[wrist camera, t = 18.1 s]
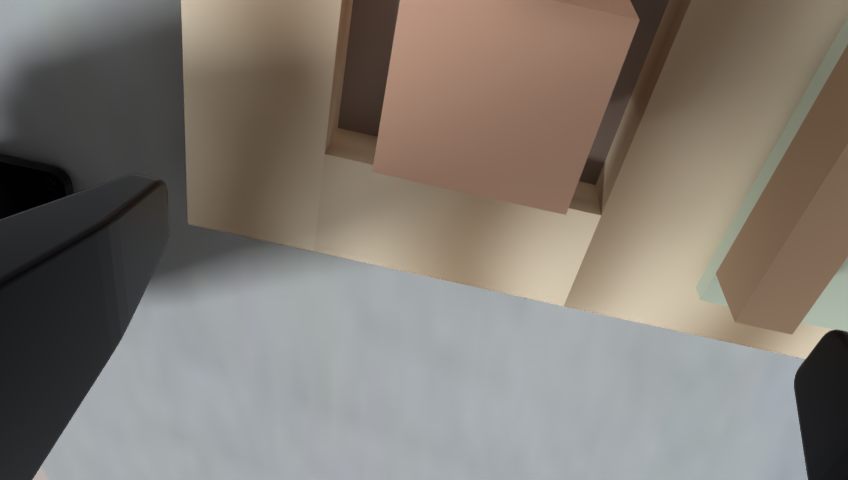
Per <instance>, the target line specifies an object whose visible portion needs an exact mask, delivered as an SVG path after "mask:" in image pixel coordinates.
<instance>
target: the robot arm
mask: <svg viewBox="0 0 848 480" xmlns="http://www.w3.org/2000/svg"><path fill="white" fill-rule="evenodd" d="M50 179H52V180H53V181H55V182H56V184H57V185H56V184H54V183H53V182H52V181H51V180H50ZM168 238H169V214H168V194H167V187H166V184H165V183H164V182H163V181H162V180H161V179H158V178H153V177H149V176H144V175H140V174H129V175H126V176H123V177H120V178H118V179H115V180H112V181H109V182H106V183H103V184H100V185H98V186H95V187H92V188H89V189H86V190H83V191H80V192H78V193H75V194H73V189H72V182H71V179H70V177H69V176H68V174H67V173H66V172H65V171H63V170H62V169H61V168H58V167H55V166H51V165H47V164H42V163H37V162H33V161H28V160H24V159H19V158H15V157H10V156H6V155H1V154H0V480H32V479H33V478H34V476H35V475H36V473H37V471H38V470H39V468H40V467H41V465H42V464H43V462H44V460H45V459H46V457H47V456H48V454H49V453H50V451H51V449H52V448H53V446H54V445H55V443H56V442H57V440H58V439H59V437H60V435H61V434H62V432H63V431H64V429H65V428H66V426H67V424H68V423H69V421H70V420H71V418H72V417H73V415H74V413H75V412H76V410H77V409H78V407H79V406H80V404H81V402H82V401H83V399H84V398H85V396H86V395H87V393H88V392H89V390H90V388H91V387H92V385H93V384H94V382H95V381H96V379H97V377H98V376H99V374H100V373H101V371H102V370H103V368H104V366H105V365H106V363H107V362H108V360H109V359H110V357H111V355H112V354H113V352H114V351H115V349H116V347H117V346H118V344H119V342H120V341H121V339H122V337H123V335H124V333H125V331H126V329H127V327H128V325H129V323H130V321H131V319H132V317H133V315H134V313H135V311H136V309H137V307H138V304H139V302H140V300H141V298H142V296H143V294H144V292H145V290H146V288H147V286H148V284H149V281H150V279H151V277H152V275H153V273H154V271H155V269H156V267H157V265H158V263H159V261H160V258H161V256H162V254H163V252H164V250H165V248H166V245H167V242H168ZM794 390H795V397H796V403H797V410H798V417H799V423H800V430H801V437H802V443H803V450H804V457H805V463H806V470H807V476H808V480H848V332H847V331H842V330H837V329H836V330H831V331H829V332H827V333H826V334H825V335H824V336H823V337H822V338H821V339H820V341H819V342H818V343H817V345H816V346H815V347H814V349H813V350H812V351H811V353H810V354H809V355H808V357H807V358H806V359H805V361H804V362H803V363H802V365H801V366H800V367H799V369H798V371H797V373H796V375H795V380H794Z"/></svg>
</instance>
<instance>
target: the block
mask: <svg viewBox="0 0 848 480" xmlns="http://www.w3.org/2000/svg"><path fill="white" fill-rule="evenodd" d="M639 21H640V20H639V17H638V15H637V13H636V11H635V9H634V7H633V5H632V3H631V1H630V0H400V3H399V9H398V15H397V22H396V28H395V34H394V40H393V46H392V52H391V59H390V65H389V71H388V77H387V83H386V89H385V95H384V102H383V108H382V114H381V120H380V126H379V132H378V139H377V145H376V151H375V157H374V163H373V169H372V172H374V173H379V174H383V175H388V176H392V177H397V178H401V179H406V180H410V181H415V182H419V183H424V184H428V185H433V186H437V187H442V188H446V189H451V190H455V191H460V192H464V193H469V194H473V195H478V196H482V197H487V198H492V199H496V200H501V201H505V202H510V203H514V204H519V205H523V206H528V207H532V208H537V209H541V210H546V211H550V212H555V213H559V214H564V215H566V213H567V211H568V208H569V205H570V203H571V200H572V198H573V195H574V192H575V190H576V187H577V184H578V182H579V179H580V176H581V174H582V171H583V168H584V166H585V163H586V161H587V158H588V155H589V153H590V150H591V147H592V145H593V142H594V139H595V137H596V134H597V132H598V129H599V126H600V124H601V121H602V118H603V116H604V113H605V110H606V108H607V105H608V103H609V100H610V97H611V95H612V92H613V89H614V87H615V84H616V81H617V79H618V76H619V74H620V71H621V68H622V66H623V63H624V60H625V58H626V55H627V52H628V50H629V47H630V44H631V42H632V39H633V37H634V34H635V31H636V29H637V26H638V23H639Z"/></svg>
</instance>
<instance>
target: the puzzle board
mask: <svg viewBox="0 0 848 480" xmlns="http://www.w3.org/2000/svg"><path fill="white" fill-rule="evenodd" d="M630 1H631V3H632V5H633V7H634V9H635V11H636V13H637V15H638V17H639V20H640V21H639V23H638V26H637V29H636V31H635V34H634V37H633V39H632V42H631V44H630V47H629V50H628V52H627V55H626V58H625V60H624V63H623V66H622V68H621V71H620V74H619V76H618V79H617V81H616V84H615V87H614V89H613V92H612V95H611V97H610V100H609V103H608V105H607V108H606V110H605V113H604V116H603V118H602V121H601V124H600V126H599V129H598V132H597V134H596V137H595V139H594V142H593V145H592V147H591V150H590V153H589V155H588V158H587V161H586V163H585V166H584V168H583V171H582V174H581V176H580V179H579V182H578V184H577V187H576V190H575V192H574V195H573V198H572V200H571V203H570V205H569V208H568V211H567V213H566V215H564V214H559V213H555V212H550V211H546V210H541V209H537V208H532V207H528V206H523V205H519V204H514V203H510V202H505V201H501V200H496V199H492V198H487V197H482V196H478V195H473V194H469V193H464V192H460V191H455V190H451V189H446V188H442V187H437V186H433V185H428V184H424V183H419V182H415V181H410V180H406V179H401V178H397V177H392V176H388V175H383V174H379V173H374V172H372V169H373V163H374V157H375V151H376V145H377V139H378V132H379V126H380V120H381V114H382V108H383V102H384V95H385V89H386V83H387V77H388V71H389V65H390V59H391V52H392V46H393V40H394V34H395V28H396V22H397V15H398V9H399V3H400V0H181V16H182V49H183V83H184V117H185V150H186V184H187V217H188V224H190V225H195V226H199V227H204V228H208V229H213V230H218V231H222V232H227V233H231V234H236V235H240V236H245V237H250V238H254V239H259V240H263V241H268V242H273V243H277V244H282V245H286V246H291V247H295V248H300V249H305V250H309V251H314V252H318V253H323V254H327V255H332V256H337V257H341V258H346V259H350V260H355V261H359V262H364V263H369V264H373V265H378V266H382V267H387V268H392V269H396V270H401V271H405V272H410V273H414V274H419V275H424V276H428V277H433V278H437V279H442V280H446V281H451V282H456V283H460V284H465V285H469V286H474V287H478V288H483V289H488V290H492V291H497V292H501V293H506V294H511V295H515V296H520V297H524V298H529V299H533V300H538V301H543V302H547V303H552V304H556V305H561V306H565V307H570V308H575V309H579V310H584V311H588V312H593V313H597V314H602V315H607V316H611V317H616V318H620V319H625V320H629V321H634V322H639V323H643V324H648V325H652V326H657V327H662V328H666V329H671V330H675V331H680V332H684V333H689V334H694V335H698V336H703V337H707V338H712V339H716V340H721V341H726V342H730V343H735V344H739V345H744V346H748V347H753V348H758V349H762V350H767V351H771V352H776V353H781V354H785V355H790V356H794V357H799V358H803V359H806V358H807V357H808V355H809V354H810V353H811V351H812V350H813V349H814V347H815V346H816V345H817V343H818V342H819V341H820V339H821V338H822V337H823V336H824V335H825V334H826V333H827V332H829V331H831V330H834V329H829V328H825V327H820V326H815V325H811V324H806V323H802V322H801V323H800V324H799V326H798V327H797V329H796V330H795V331H794V333H793V334H792V335H791V334H786V333H782V332H777V331H773V330H768V329H763V328H759V327H754V326H750V325H745V324H741V323H736V322H734V319H733V317H732V314H731V312H730V309H729V306H724V305H720V304H715V303H711V302H706V301H702V300H700V298H699V295H698V292H697V289H696V285H697V284H698V282H699V280H700V278H701V277H702V275H703V273H704V271H705V269H706V268H707V266H708V264H709V262H710V261H711V259H712V257H713V255H714V253H715V252H716V250H717V248H718V246H719V244H720V243H721V241H722V239H723V237H724V236H725V234H726V232H727V230H728V228H729V227H730V225H731V223H732V221H733V220H734V218H735V216H736V214H737V212H738V211H739V209H740V207H741V205H742V204H743V202H744V200H745V198H746V196H747V195H748V193H749V191H750V189H751V188H752V186H753V184H754V182H755V180H756V179H757V177H758V175H759V173H760V172H761V170H762V168H763V166H764V164H765V163H766V161H767V159H768V157H769V155H770V154H771V152H772V150H773V148H774V147H775V145H776V143H777V141H778V139H779V138H780V136H781V134H782V132H783V131H784V129H785V127H786V125H787V123H788V122H789V120H790V118H791V116H792V115H793V113H794V111H795V109H796V107H797V106H798V104H799V102H800V100H801V99H802V97H803V95H804V93H805V91H806V90H807V88H808V86H809V84H810V82H811V81H812V79H813V77H814V75H815V74H816V72H817V70H818V68H819V66H820V65H821V63H822V61H823V59H824V58H825V56H826V54H827V52H828V50H829V49H830V47H831V45H832V43H833V42H834V40H835V38H836V36H837V34H838V33H839V31H840V29H841V27H842V26H843V24H844V22H845V20H846V18H847V17H848V0H630Z"/></svg>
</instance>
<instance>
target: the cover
mask: <svg viewBox="0 0 848 480" xmlns="http://www.w3.org/2000/svg"><path fill="white" fill-rule="evenodd" d="M696 289H697V292H698V295H699V298H700V300H702V301H706V302H711V303H715V304H720V305H724V306H729V309H730V312H731V314H732V317H733V319H734V322H736V323H741V324H745V325H750V326H754V327H759V328H763V329H768V330H773V331H777V332H782V333H786V334H791V335H792V334H793V333H794V331H795V330H796V329H797V327H798V326H799V324H800V323H801V322H802V323H806V324H811V325H815V326H820V327H825V328H829V329H834V330H836V329H837V330H842V331H847V332H848V17H847V18H846V20H845V22H844V24H843V26H842V27H841V29H840V31H839V33H838V34H837V36H836V38H835V40H834V42H833V43H832V45H831V47H830V49H829V50H828V52H827V54H826V56H825V58H824V59H823V61H822V63H821V65H820V66H819V68H818V70H817V72H816V74H815V75H814V77H813V79H812V81H811V82H810V84H809V86H808V88H807V90H806V91H805V93H804V95H803V97H802V99H801V100H800V102H799V104H798V106H797V107H796V109H795V111H794V113H793V115H792V116H791V118H790V120H789V122H788V123H787V125H786V127H785V129H784V131H783V132H782V134H781V136H780V138H779V139H778V141H777V143H776V145H775V147H774V148H773V150H772V152H771V154H770V155H769V157H768V159H767V161H766V163H765V164H764V166H763V168H762V170H761V172H760V173H759V175H758V177H757V179H756V180H755V182H754V184H753V186H752V188H751V189H750V191H749V193H748V195H747V196H746V198H745V200H744V202H743V204H742V205H741V207H740V209H739V211H738V212H737V214H736V216H735V218H734V220H733V221H732V223H731V225H730V227H729V228H728V230H727V232H726V234H725V236H724V237H723V239H722V241H721V243H720V244H719V246H718V248H717V250H716V252H715V253H714V255H713V257H712V259H711V261H710V262H709V264H708V266H707V268H706V269H705V271H704V273H703V275H702V277H701V278H700V280H699V282H698V284H697V285H696Z"/></svg>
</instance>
